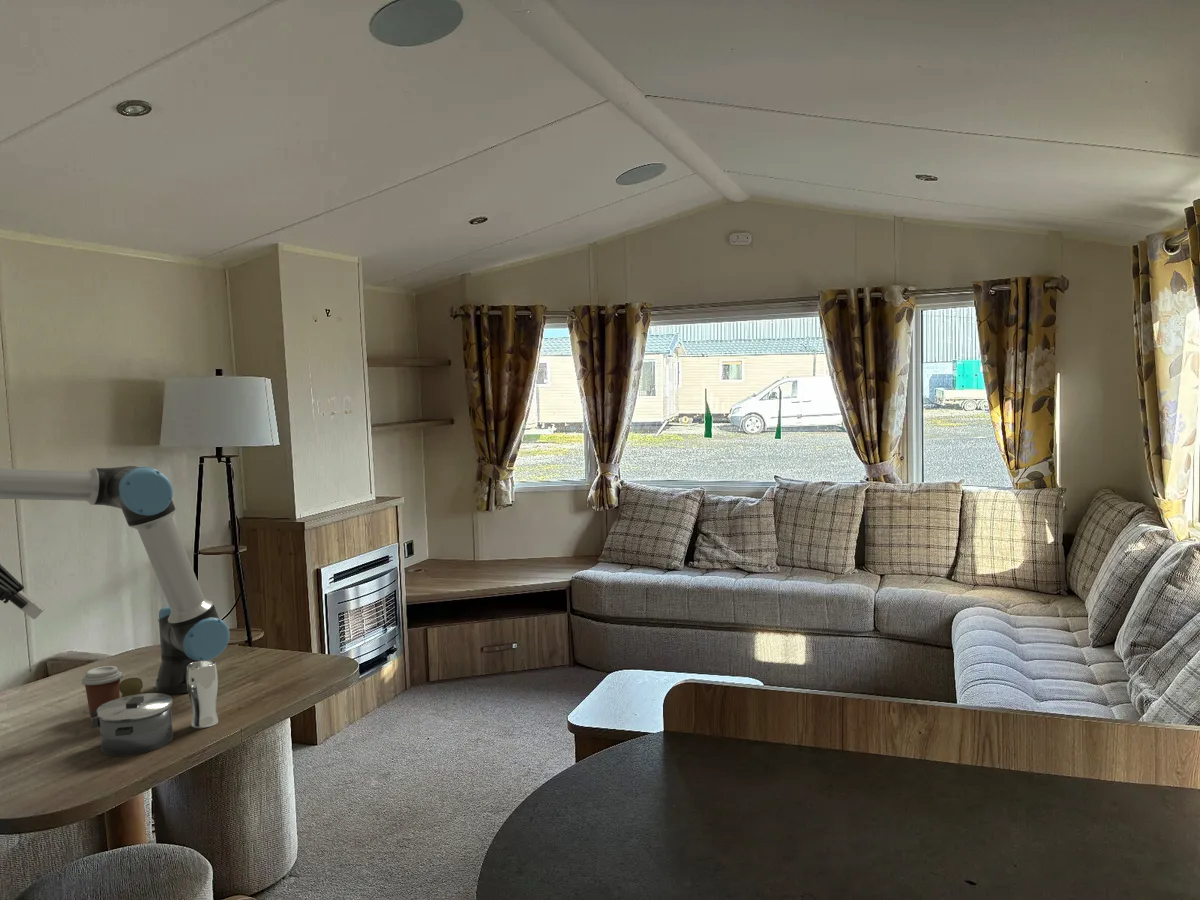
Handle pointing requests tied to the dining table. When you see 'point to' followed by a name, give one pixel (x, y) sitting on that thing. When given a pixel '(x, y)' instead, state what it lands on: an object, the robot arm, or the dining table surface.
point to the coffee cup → (101, 686)
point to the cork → (130, 686)
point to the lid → (133, 707)
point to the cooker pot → (135, 734)
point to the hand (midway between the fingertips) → (39, 614)
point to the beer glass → (203, 692)
